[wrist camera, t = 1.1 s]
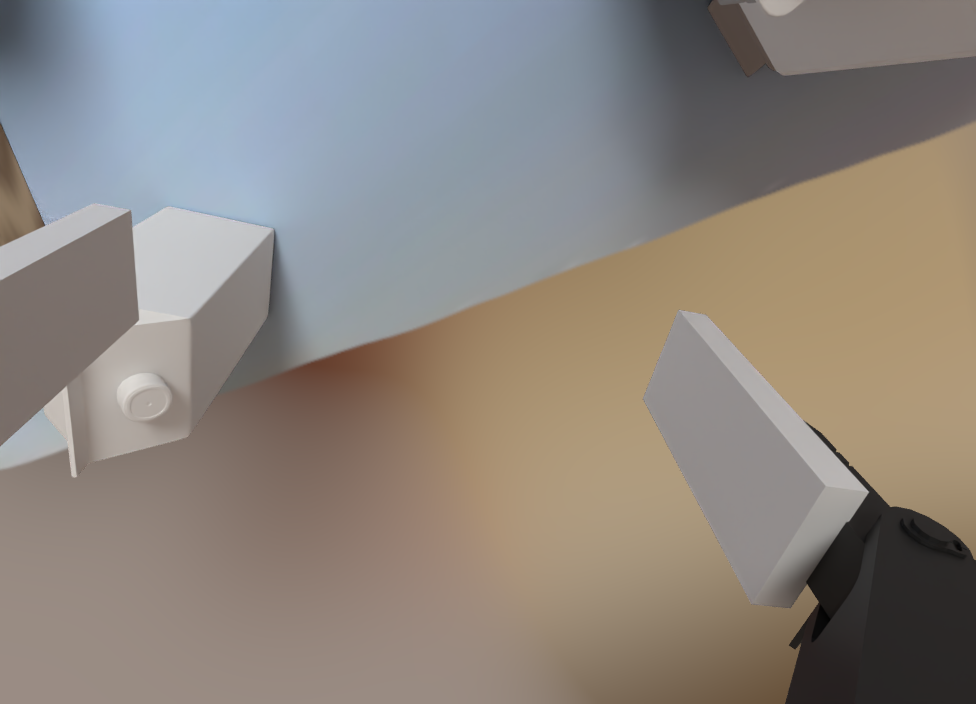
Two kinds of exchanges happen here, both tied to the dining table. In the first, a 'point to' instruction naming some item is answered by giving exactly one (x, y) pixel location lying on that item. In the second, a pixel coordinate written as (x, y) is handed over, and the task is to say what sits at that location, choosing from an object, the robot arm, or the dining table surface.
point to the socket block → (14, 198)
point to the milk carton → (170, 336)
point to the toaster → (844, 32)
